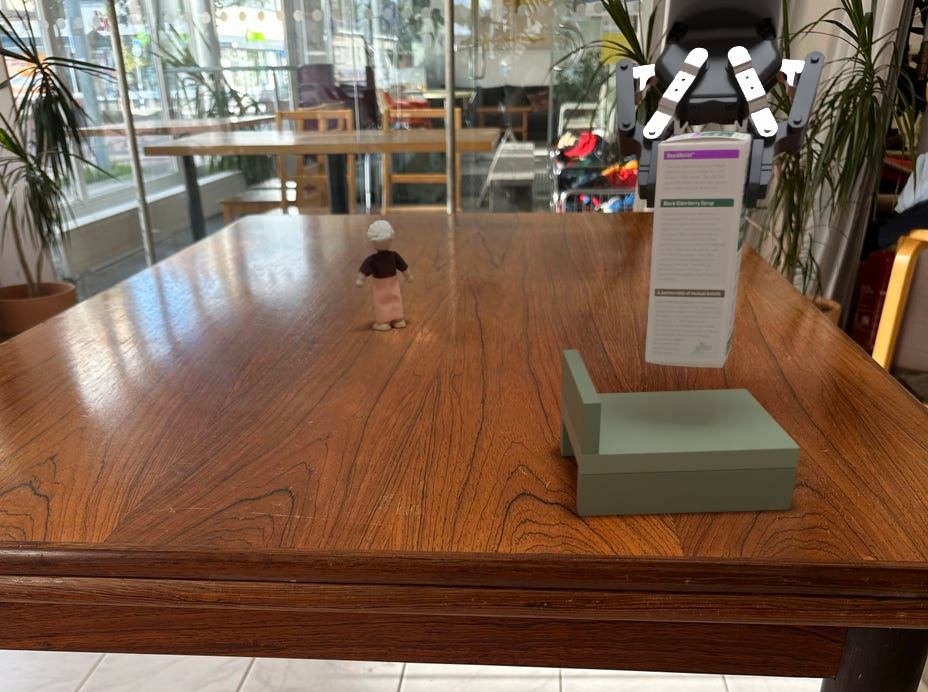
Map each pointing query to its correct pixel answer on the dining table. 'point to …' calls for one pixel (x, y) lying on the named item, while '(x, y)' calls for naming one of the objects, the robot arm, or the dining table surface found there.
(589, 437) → the toy bed
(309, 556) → the dining table surface
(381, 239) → the grandmother figurine
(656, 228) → the syrup box
